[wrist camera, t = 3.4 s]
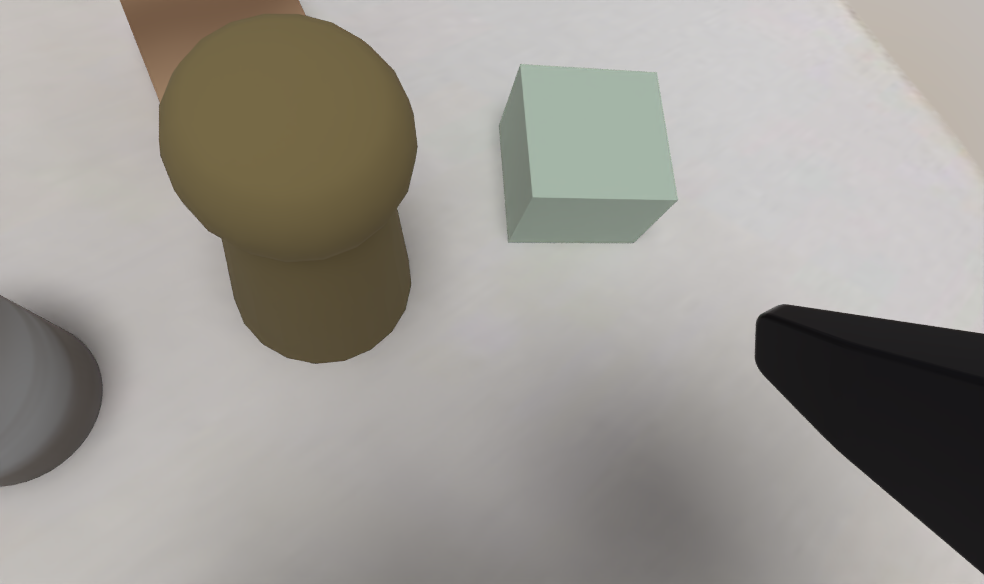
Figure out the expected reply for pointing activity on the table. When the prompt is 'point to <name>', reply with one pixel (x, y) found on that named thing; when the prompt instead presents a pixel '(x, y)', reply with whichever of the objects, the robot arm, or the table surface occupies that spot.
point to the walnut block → (187, 27)
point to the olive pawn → (297, 178)
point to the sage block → (584, 155)
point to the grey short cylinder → (42, 394)
